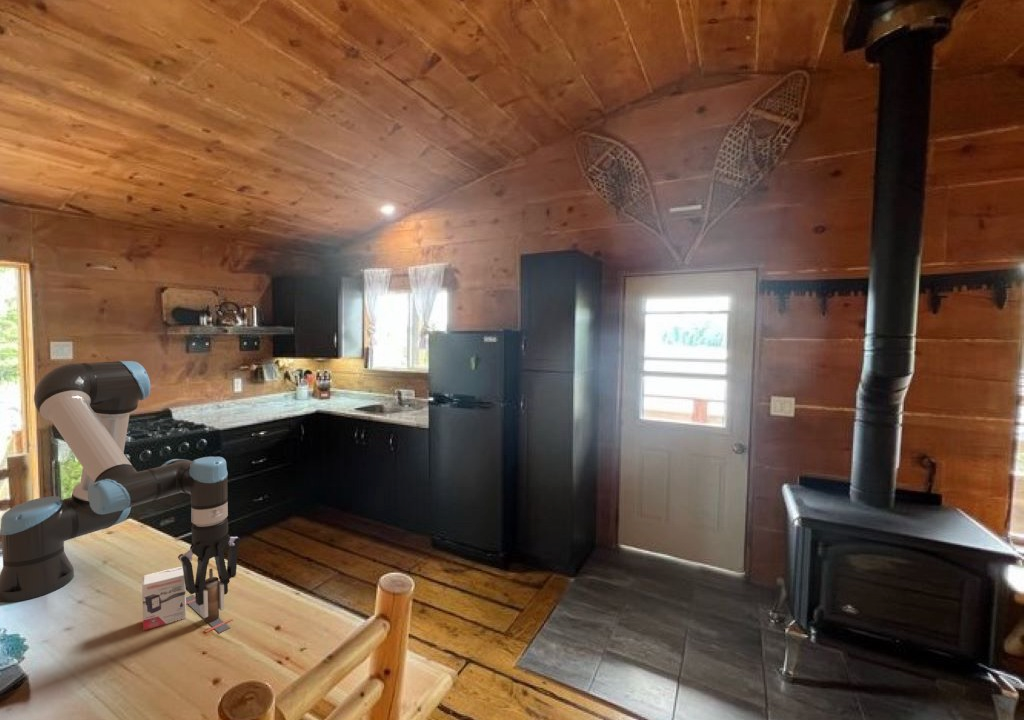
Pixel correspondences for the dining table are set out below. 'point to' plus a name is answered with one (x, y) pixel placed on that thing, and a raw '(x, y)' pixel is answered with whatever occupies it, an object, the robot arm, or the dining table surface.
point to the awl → (212, 597)
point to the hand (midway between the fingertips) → (212, 611)
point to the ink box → (163, 597)
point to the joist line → (216, 624)
